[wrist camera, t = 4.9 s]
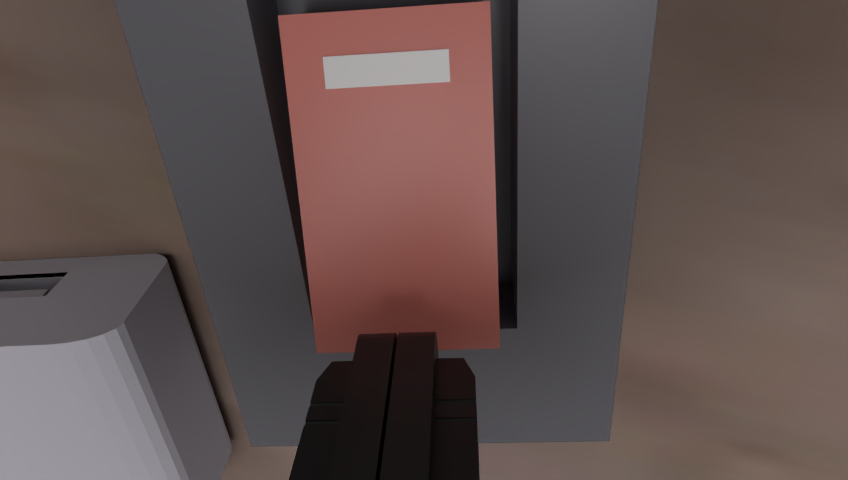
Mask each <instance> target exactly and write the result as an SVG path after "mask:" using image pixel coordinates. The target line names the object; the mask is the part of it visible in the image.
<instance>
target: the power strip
mask: <svg viewBox="0 0 848 480" xmlns="http://www.w3.org/2000/svg"><path fill="white" fill-rule="evenodd" d="M482 1H490V13H491V47H492V81H493V116H494V150H495V185H496V219H497V254H498V288H499V323H500V348H498V349H461V350H438V355H439V358H464V359H465V361H466V362H467V364H468V366H469V367H470V369H471V370H472V372H473V374H474V375H475V380H476V403H477V426H478V443H518V442H584V441H609V439H610V430H611V421H612V412H613V403H614V394H615V385H616V376H617V367H618V358H619V349H620V340H621V331H622V322H623V313H624V304H625V294H626V285H627V276H628V267H629V258H630V249H631V240H632V231H633V222H634V213H635V204H636V195H637V186H638V177H639V168H640V159H641V150H642V141H643V131H644V122H645V113H646V104H647V95H648V86H649V77H650V68H651V59H652V50H653V41H654V32H655V23H656V14H657V5H658V0H114V2H115V6H116V9H117V12H118V15H119V18H120V22H121V25H122V28H123V31H124V35H125V38H126V41H127V44H128V48H129V51H130V54H131V57H132V61H133V64H134V67H135V70H136V74H137V77H138V80H139V83H140V86H141V90H142V93H143V96H144V99H145V103H146V106H147V109H148V112H149V116H150V119H151V122H152V125H153V129H154V132H155V135H156V138H157V142H158V145H159V148H160V151H161V155H162V158H163V161H164V164H165V167H166V171H167V174H168V177H169V180H170V184H171V187H172V190H173V193H174V197H175V200H176V203H177V206H178V210H179V213H180V216H181V219H182V223H183V226H184V229H185V232H186V235H187V239H188V242H189V245H190V248H191V252H192V255H193V258H194V261H195V265H196V268H197V271H198V274H199V278H200V281H201V284H202V287H203V291H204V294H205V297H206V300H207V303H208V307H209V310H210V313H211V316H212V320H213V323H214V326H215V329H216V333H217V336H218V339H219V342H220V346H221V349H222V352H223V355H224V359H225V362H226V365H227V368H228V372H229V375H230V378H231V381H232V384H233V388H234V391H235V394H236V397H237V401H238V404H239V407H240V410H241V414H242V417H243V420H244V423H245V427H246V430H247V433H248V436H249V440H250V443H251V446H252V447H256V446H298V445H299V441H300V438H301V434H302V430H303V427H304V425H305V419H306V416H307V412H308V409H309V407H310V401H311V398H312V394H313V390H314V387H315V383H316V380H317V379H318V378H319V377H320V375H321V374H322V373H323V372H324V371H325V369H326V368H327V367H328V366H329V364H330V363H331V362H332V361H353V356H354V352H348V353H317V351H316V343H315V334H314V325H313V317H312V308H311V299H310V291H309V282H308V273H307V265H306V256H305V247H304V239H303V230H302V221H301V213H300V204H299V195H298V187H297V178H296V169H295V161H294V152H293V143H292V135H291V126H290V117H289V109H288V100H287V91H286V83H285V74H284V65H283V57H282V48H281V39H280V31H279V22H278V15H293V14H307V13H322V12H336V11H351V10H366V9H380V8H395V7H409V6H424V5H438V4H453V3H467V2H482Z"/></svg>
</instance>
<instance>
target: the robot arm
mask: <svg viewBox="0 0 848 480" xmlns="http://www.w3.org/2000/svg"><path fill="white" fill-rule="evenodd" d="M289 480H480V479H479V452H478V426H477V403H476V380H475V375H474V374H473V372H472V370H471V369H470V367H469V366H468V364H467V362H466V361H465V359H464V358H439V355H438V343H437V334H436V332H404V333H399V334H398V336H397V333H375V334H359V335H358V338H357V342H356V347H355V351H354V356H353V361H332V362H331V363H330V364H329V366H328V367H327V368H326V369H325V371H324V372H323V373H322V374H321V375H320V377H319V378H318V379H317V380H316V383H315V387H314V390H313V394H312V398H311V401H310V407H309V409H308V412H307V416H306V419H305V425H304V427H303V430H302V434H301V438H300V441H299V445H298V449H297V452H296V456H295V459H294V463H293V467H292V470H291V474H290V478H289Z"/></svg>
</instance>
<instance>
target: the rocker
mask: <svg viewBox="0 0 848 480" xmlns="http://www.w3.org/2000/svg"><path fill="white" fill-rule="evenodd" d="M278 22H279V31H280V39H281V48H282V57H283V65H284V74H285V83H286V91H287V100H288V109H289V117H290V126H291V135H292V143H293V152H294V161H295V169H296V178H297V187H298V195H299V204H300V213H301V221H302V230H303V239H304V247H305V256H306V265H307V273H308V282H309V291H310V299H311V308H312V317H313V325H314V334H315V343H316V351H317V353H348V352H354V351H355V347H356V342H357V338H358V335H359V334H375V333H397V336H398V334H399V333H404V332H436V334H437V343H438V350H461V349H498V348H500V323H499V288H498V254H497V219H496V185H495V150H494V116H493V81H492V47H491V13H490V1H482V2H467V3H453V4H438V5H424V6H409V7H395V8H380V9H366V10H351V11H336V12H322V13H307V14H293V15H278Z"/></svg>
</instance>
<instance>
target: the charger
mask: <svg viewBox="0 0 848 480" xmlns="http://www.w3.org/2000/svg"><path fill="white" fill-rule="evenodd" d="M62 272H68V273H67V274H66V275H65V276H63V277H43V278H23V279H3V280H0V480H220V479H221V477H222V474H223V471H224V469H225V466H226V464H227V461H228V458H229V456H230V453H231V451H232V443H231V440H230V437H229V435H228V432H227V429H226V426H225V423H224V420H223V417H222V415H221V412H220V409H219V406H218V403H217V400H216V397H215V395H214V392H213V389H212V386H211V383H210V380H209V377H208V375H207V372H206V369H205V366H204V363H203V360H202V358H201V355H200V352H199V349H198V346H197V343H196V340H195V338H194V335H193V332H192V329H191V326H190V323H189V320H188V318H187V315H186V312H185V309H184V306H183V303H182V300H181V298H180V295H179V292H178V289H177V286H176V283H175V280H174V278H173V275H172V272H171V269H170V266H169V263H168V261H167V259H166V258H165V257H164V256H163V255H160V254H136V255H115V256H96V257H76V258H57V259H38V260H19V261H0V276H2V275H22V274H42V273H62Z"/></svg>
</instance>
